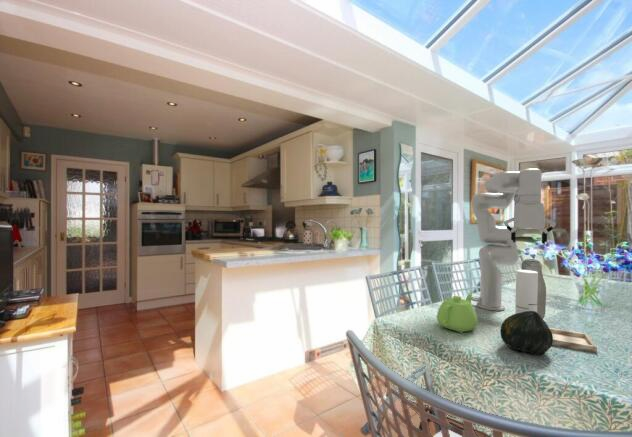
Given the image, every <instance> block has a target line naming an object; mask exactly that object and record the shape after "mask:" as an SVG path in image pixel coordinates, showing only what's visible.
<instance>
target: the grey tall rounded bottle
mask: <svg viewBox="0 0 632 437" xmlns="http://www.w3.org/2000/svg"><path fill="white" fill-rule="evenodd" d="M520 267H521V270H531V271H536V272H538V290H537V313H538V314H539V315H540V316H541V317H542V319H543V320H544V318H545V317H546V311H547V310H546V306H547V285H546V282H545V279H544V274H543V265H542V263H541V261H540V260H537V259H534V258H527V259H524V260H523V261H522V262H521V266H520Z"/></svg>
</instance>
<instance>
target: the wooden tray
mask: <svg viewBox="0 0 632 437" xmlns="http://www.w3.org/2000/svg"><path fill="white" fill-rule="evenodd" d="M549 329H550V331H551V332H552V336H553V343H552V346H556V345H557V347H563V348H567V347H569V348H568V349H573V348H575V349H574V350H578V349H580V351H584V350H585V352H589V351H590V353H595V354H597V353H598V346H597V345H596V343H595V342H594V341H593V339H592V338H591V336H589V334H588V333H584V332H579V331H578V332H577V331H571V330H565V329H559V328H553V327H549Z"/></svg>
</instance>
